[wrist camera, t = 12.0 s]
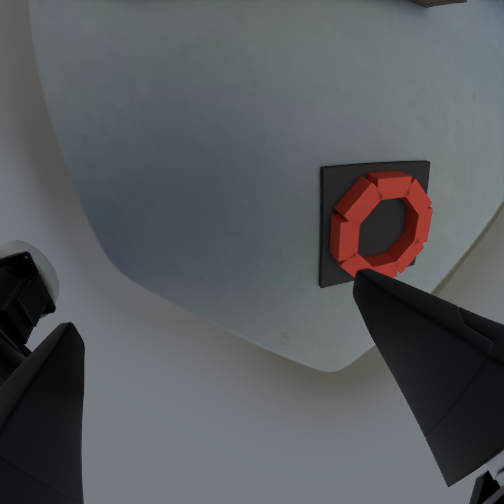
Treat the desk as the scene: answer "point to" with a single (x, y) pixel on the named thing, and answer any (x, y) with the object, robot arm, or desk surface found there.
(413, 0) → the crate
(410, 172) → the mat
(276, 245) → the desk surface
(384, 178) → the red ring
